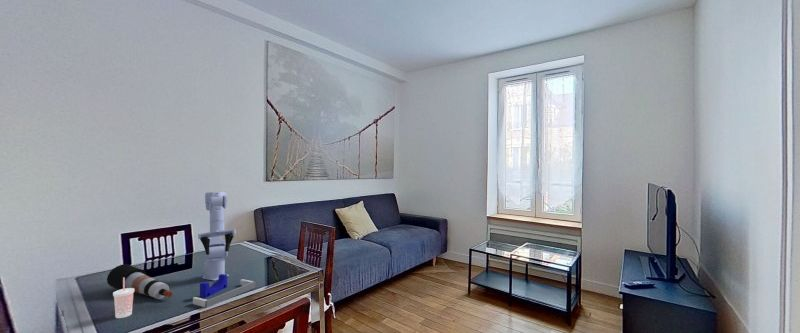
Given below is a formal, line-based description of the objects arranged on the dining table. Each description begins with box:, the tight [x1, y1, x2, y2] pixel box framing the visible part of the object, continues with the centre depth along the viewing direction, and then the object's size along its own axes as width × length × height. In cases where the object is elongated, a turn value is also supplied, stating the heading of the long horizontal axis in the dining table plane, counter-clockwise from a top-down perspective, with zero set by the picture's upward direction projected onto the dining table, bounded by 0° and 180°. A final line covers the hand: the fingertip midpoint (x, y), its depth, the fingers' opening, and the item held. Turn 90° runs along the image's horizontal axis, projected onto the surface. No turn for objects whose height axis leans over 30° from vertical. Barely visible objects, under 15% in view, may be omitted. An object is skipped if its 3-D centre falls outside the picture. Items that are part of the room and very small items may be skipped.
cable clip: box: [199, 273, 228, 299], centre depth 138 cm, size 12×4×6 cm, turn 169°
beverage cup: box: [112, 277, 135, 319], centre depth 117 cm, size 6×6×14 cm
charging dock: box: [192, 279, 257, 309], centre depth 135 cm, size 8×23×2 cm, turn 156°
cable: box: [106, 263, 173, 300], centre depth 136 cm, size 10×34×10 cm, turn 66°
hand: (217, 252), depth 137 cm, fingers open, 7 cm apart
